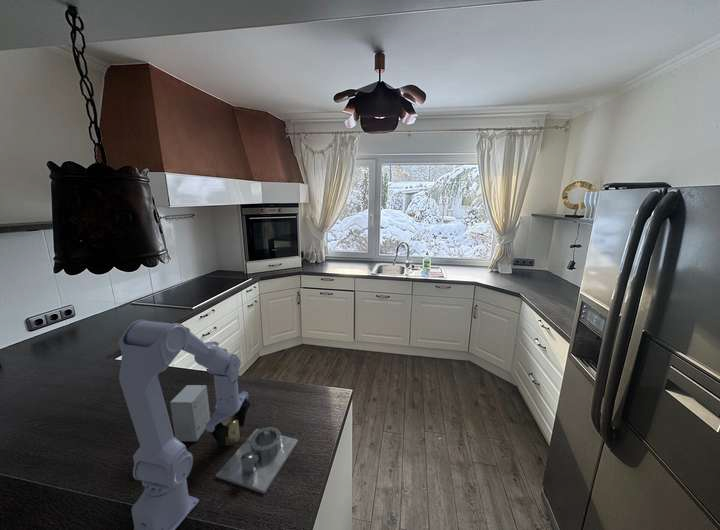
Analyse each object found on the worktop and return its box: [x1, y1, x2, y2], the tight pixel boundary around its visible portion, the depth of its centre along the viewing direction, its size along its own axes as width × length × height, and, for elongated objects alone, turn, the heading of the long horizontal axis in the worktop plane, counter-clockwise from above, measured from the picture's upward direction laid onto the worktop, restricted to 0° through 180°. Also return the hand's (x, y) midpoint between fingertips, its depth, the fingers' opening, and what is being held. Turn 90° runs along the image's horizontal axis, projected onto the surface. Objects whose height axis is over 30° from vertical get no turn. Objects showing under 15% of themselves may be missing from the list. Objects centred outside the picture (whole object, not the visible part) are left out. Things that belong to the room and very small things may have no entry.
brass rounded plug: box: [221, 415, 241, 446], centre depth 83 cm, size 4×4×6 cm
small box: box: [169, 384, 211, 442], centre depth 85 cm, size 8×6×13 cm
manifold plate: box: [215, 426, 299, 494], centre depth 77 cm, size 16×14×5 cm
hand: (231, 434), depth 83 cm, fingers open, 7 cm apart
